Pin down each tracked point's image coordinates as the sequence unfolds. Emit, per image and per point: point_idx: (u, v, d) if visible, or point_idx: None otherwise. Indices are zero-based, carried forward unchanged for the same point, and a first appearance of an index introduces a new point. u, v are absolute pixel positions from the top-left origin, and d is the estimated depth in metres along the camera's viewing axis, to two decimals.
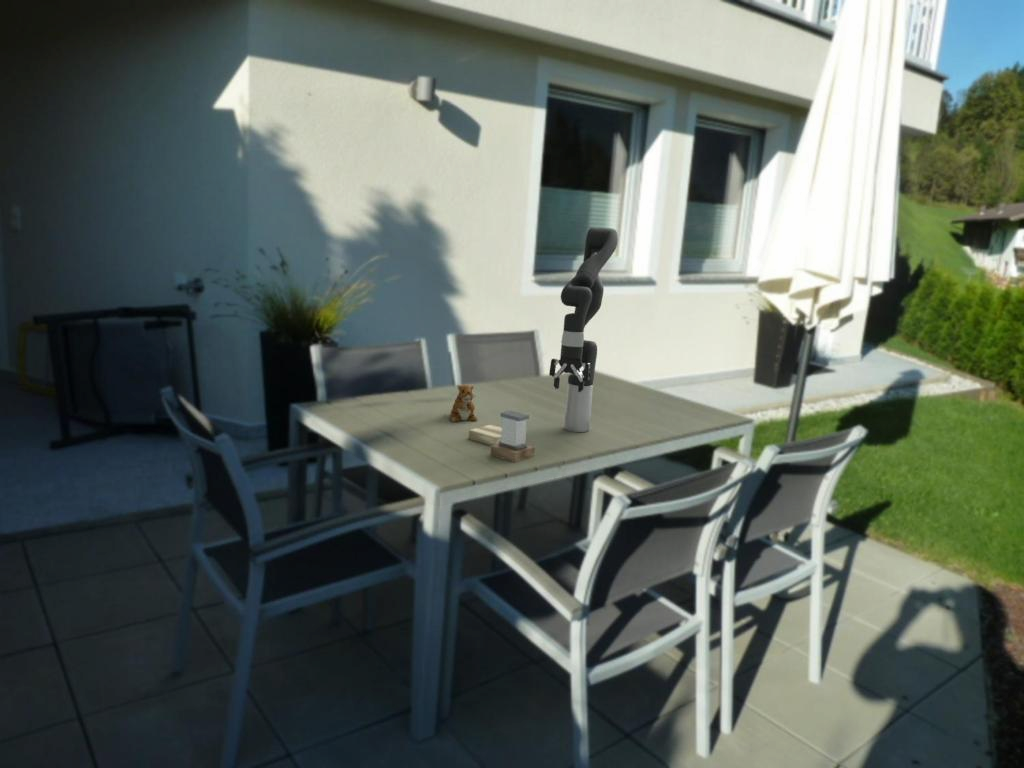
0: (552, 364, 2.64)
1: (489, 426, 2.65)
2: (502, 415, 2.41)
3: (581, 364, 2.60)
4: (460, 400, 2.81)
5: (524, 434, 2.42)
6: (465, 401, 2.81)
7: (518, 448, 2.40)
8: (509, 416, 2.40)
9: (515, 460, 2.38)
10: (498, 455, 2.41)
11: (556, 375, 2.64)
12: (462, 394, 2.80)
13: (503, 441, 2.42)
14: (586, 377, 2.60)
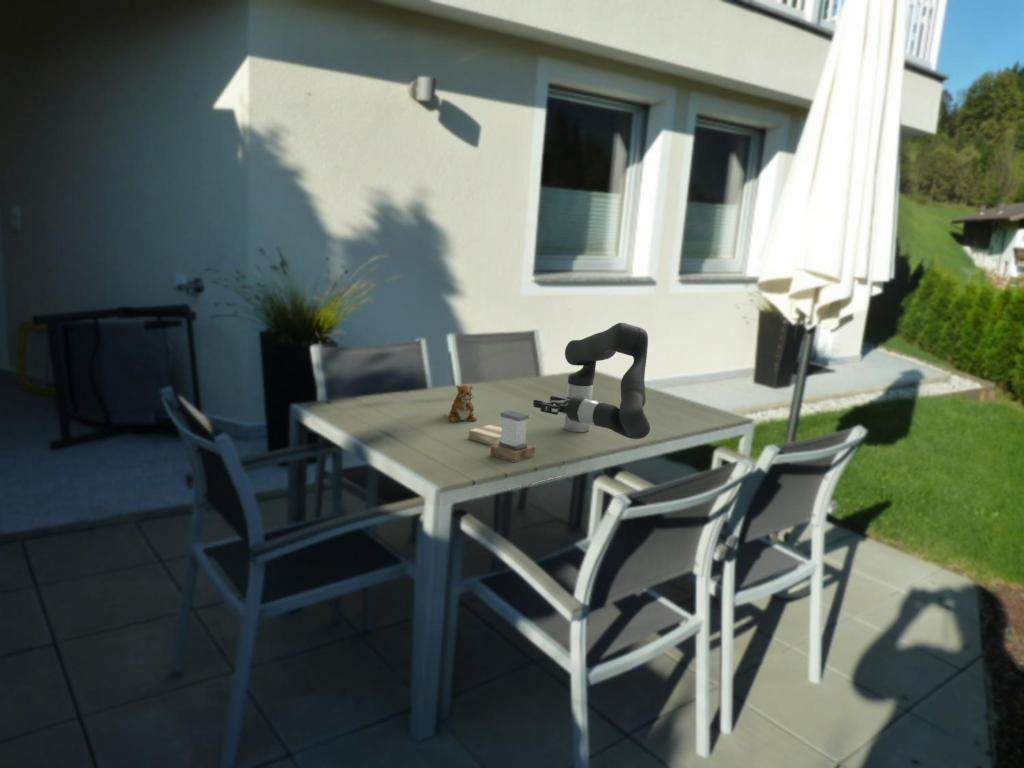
0: None
1: (489, 426, 2.65)
2: (502, 415, 2.41)
3: None
4: (459, 400, 2.81)
5: (524, 434, 2.42)
6: (464, 401, 2.81)
7: (518, 448, 2.40)
8: (509, 416, 2.40)
9: (515, 460, 2.38)
10: (498, 455, 2.41)
11: None
12: (461, 394, 2.80)
13: (503, 441, 2.42)
14: None
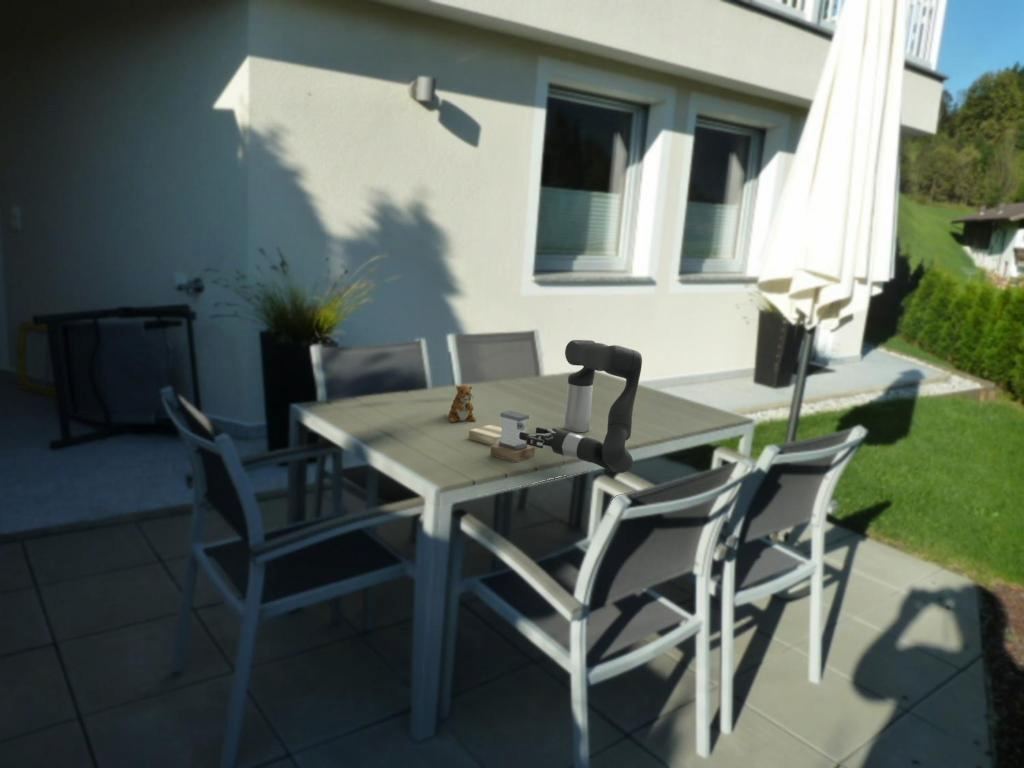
0: None
1: (489, 426, 2.65)
2: (502, 415, 2.41)
3: None
4: (458, 400, 2.80)
5: None
6: (464, 401, 2.80)
7: (518, 448, 2.40)
8: (509, 416, 2.40)
9: (515, 460, 2.38)
10: (498, 455, 2.41)
11: None
12: (461, 394, 2.79)
13: (503, 441, 2.42)
14: None
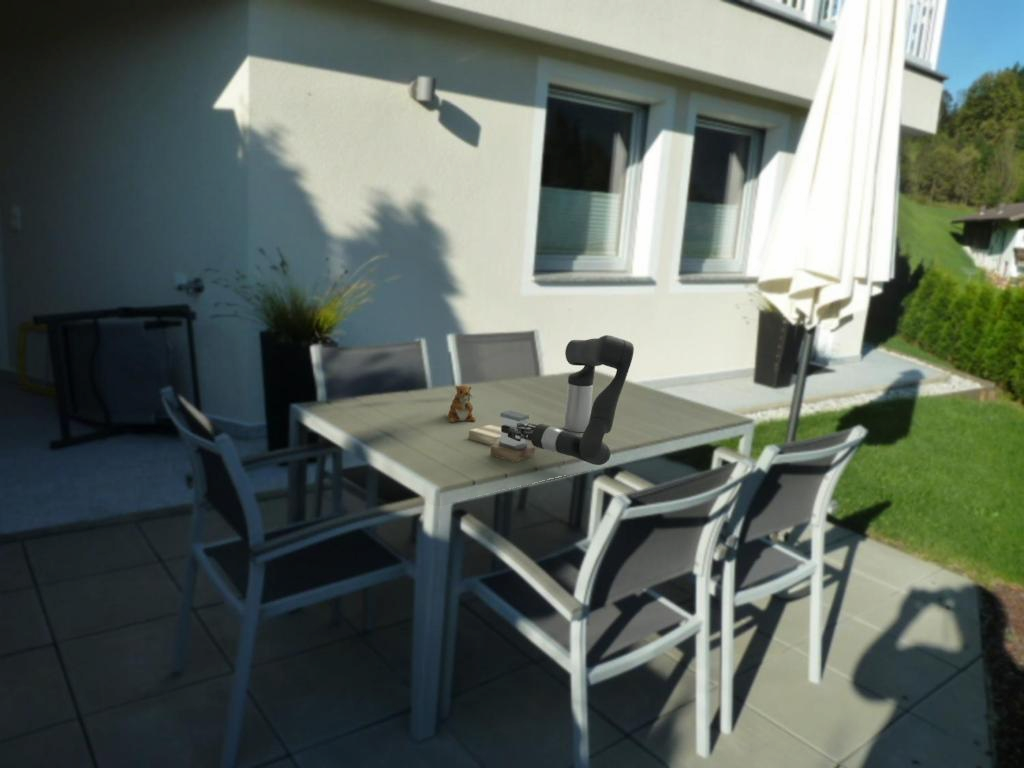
0: None
1: (489, 426, 2.65)
2: (502, 415, 2.41)
3: None
4: (458, 401, 2.80)
5: None
6: (463, 402, 2.80)
7: (518, 448, 2.40)
8: (509, 416, 2.40)
9: (515, 460, 2.38)
10: (498, 455, 2.41)
11: None
12: (460, 395, 2.79)
13: (503, 441, 2.42)
14: None
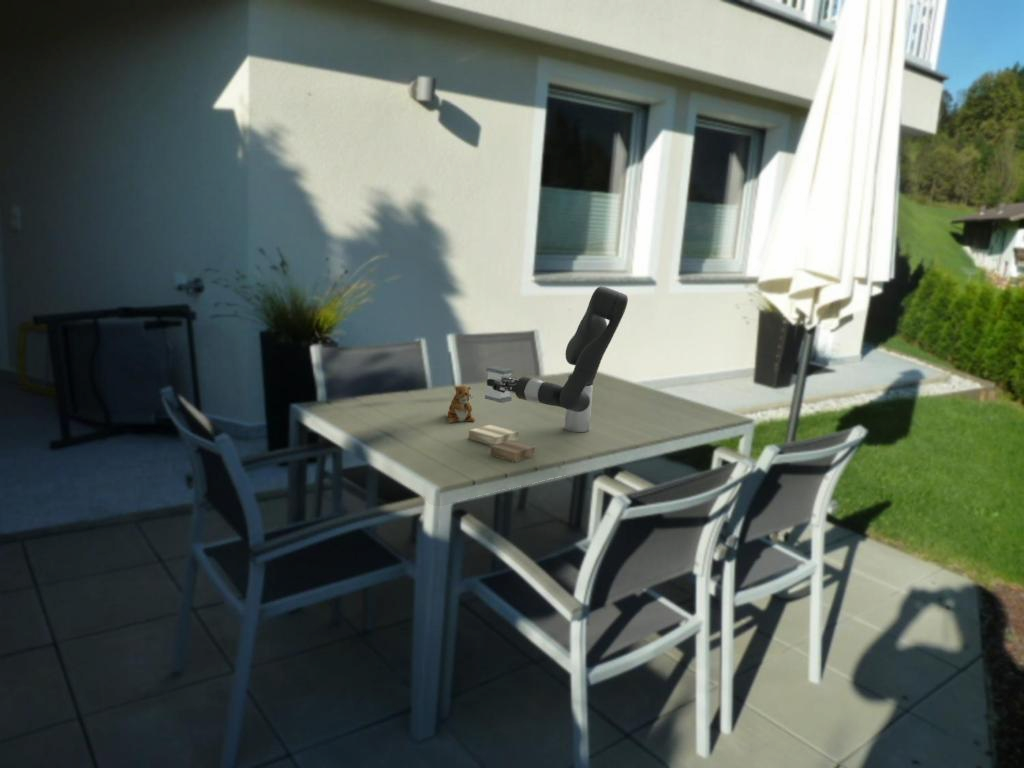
0: None
1: (489, 426, 2.65)
2: (488, 369, 2.54)
3: None
4: (457, 401, 2.80)
5: None
6: (462, 402, 2.80)
7: (503, 400, 2.52)
8: (494, 370, 2.52)
9: (515, 460, 2.38)
10: (498, 455, 2.41)
11: None
12: (459, 395, 2.78)
13: (489, 394, 2.55)
14: None
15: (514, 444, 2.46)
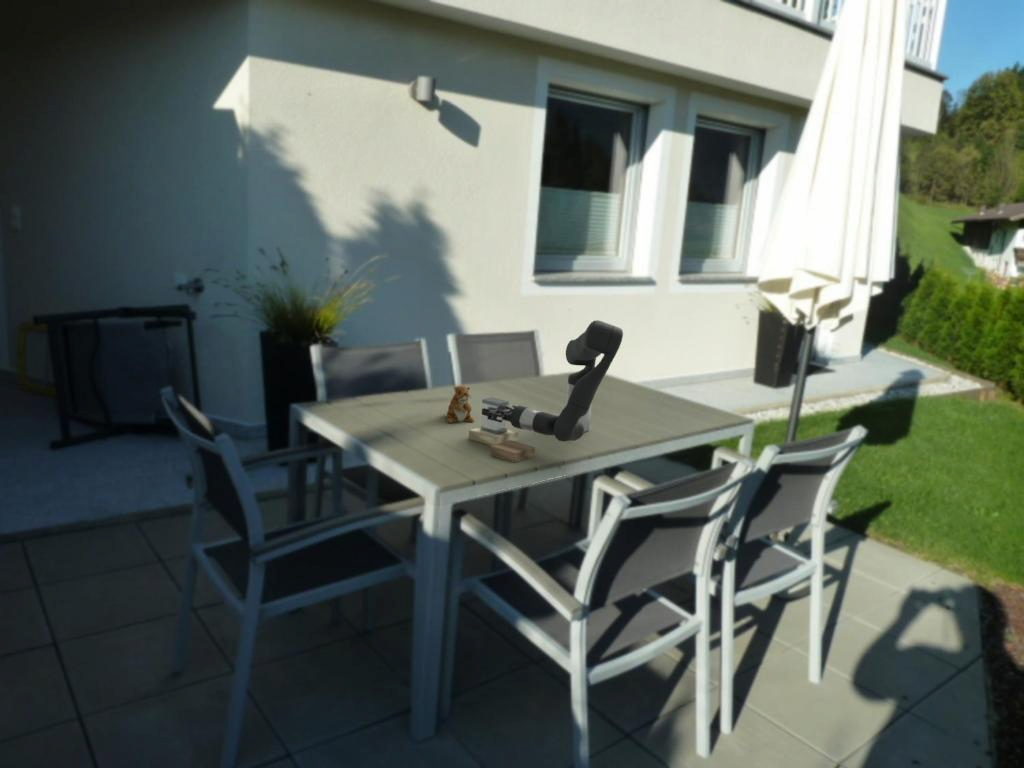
0: None
1: None
2: (483, 401, 2.58)
3: None
4: (456, 401, 2.79)
5: None
6: (461, 402, 2.79)
7: (498, 432, 2.56)
8: (490, 402, 2.56)
9: (515, 460, 2.38)
10: (498, 455, 2.41)
11: None
12: (459, 395, 2.78)
13: (484, 426, 2.59)
14: None
15: (514, 444, 2.46)
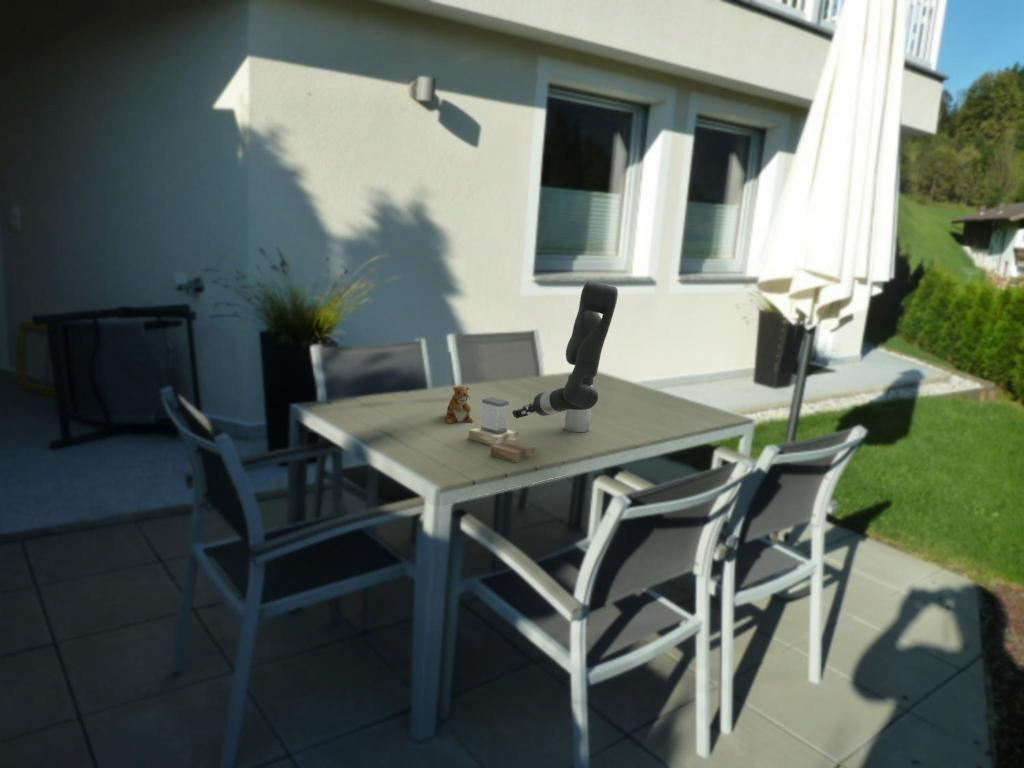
0: None
1: None
2: (483, 401, 2.58)
3: None
4: (456, 401, 2.79)
5: (504, 419, 2.59)
6: (461, 402, 2.79)
7: (498, 432, 2.56)
8: (490, 402, 2.56)
9: (515, 460, 2.38)
10: (498, 455, 2.41)
11: None
12: (458, 395, 2.78)
13: (484, 426, 2.59)
14: None
15: (514, 444, 2.46)
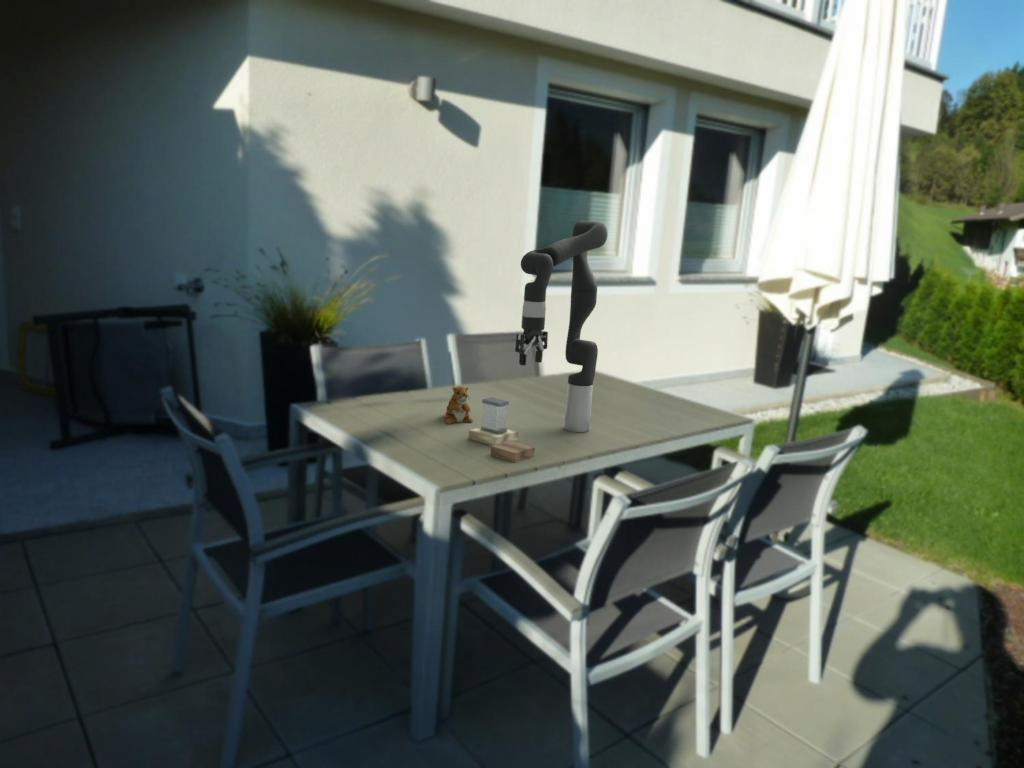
0: (523, 340, 2.43)
1: None
2: (483, 401, 2.58)
3: (541, 333, 2.51)
4: (455, 402, 2.78)
5: (504, 419, 2.59)
6: (460, 403, 2.78)
7: (498, 432, 2.56)
8: (490, 402, 2.56)
9: (515, 460, 2.38)
10: (498, 455, 2.41)
11: (526, 351, 2.45)
12: (457, 396, 2.77)
13: (484, 426, 2.59)
14: (546, 345, 2.53)
15: (514, 444, 2.46)
